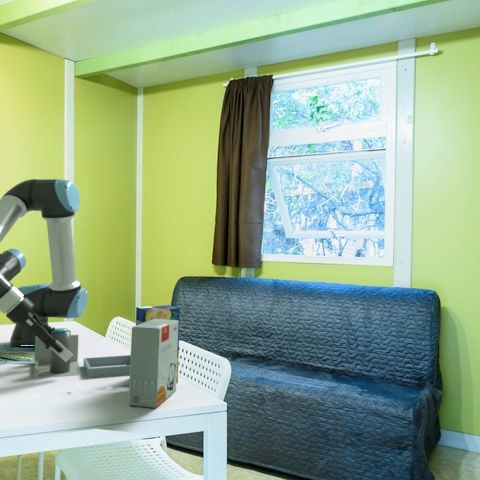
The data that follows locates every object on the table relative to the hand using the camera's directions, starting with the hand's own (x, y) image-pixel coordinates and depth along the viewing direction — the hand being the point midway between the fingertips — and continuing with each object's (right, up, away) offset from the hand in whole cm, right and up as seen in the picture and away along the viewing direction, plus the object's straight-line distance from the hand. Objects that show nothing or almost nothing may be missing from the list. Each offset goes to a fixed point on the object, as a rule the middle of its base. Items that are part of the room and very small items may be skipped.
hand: (68, 353), depth 146 cm
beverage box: (+28, -8, -4) cm, 29 cm away
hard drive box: (+29, -8, -19) cm, 36 cm away
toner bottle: (-2, -5, -1) cm, 6 cm away
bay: (-4, -7, +2) cm, 8 cm away
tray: (+13, -7, +2) cm, 15 cm away
